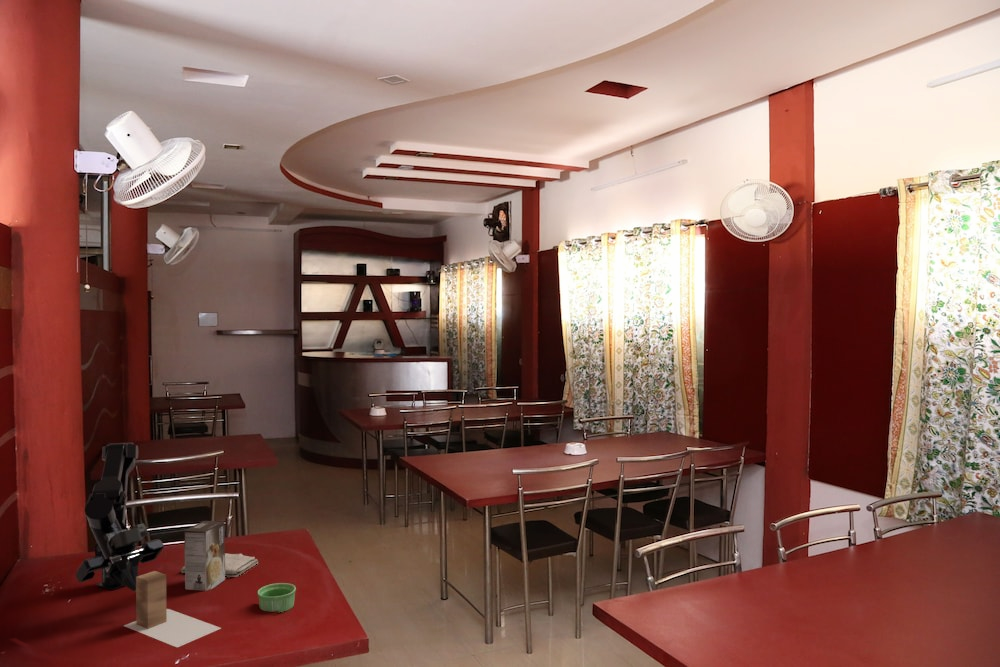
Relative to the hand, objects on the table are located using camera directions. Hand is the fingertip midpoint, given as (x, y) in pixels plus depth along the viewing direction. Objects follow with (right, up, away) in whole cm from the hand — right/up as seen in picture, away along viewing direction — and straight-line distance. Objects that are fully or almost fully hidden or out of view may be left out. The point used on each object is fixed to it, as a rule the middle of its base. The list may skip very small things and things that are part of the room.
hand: (136, 589), depth 165 cm
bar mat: (+11, -7, -5) cm, 14 cm away
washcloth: (+6, -7, +34) cm, 35 cm away
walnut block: (+5, -7, -3) cm, 9 cm away
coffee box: (+7, -7, +21) cm, 24 cm away
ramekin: (+30, -7, +8) cm, 32 cm away
